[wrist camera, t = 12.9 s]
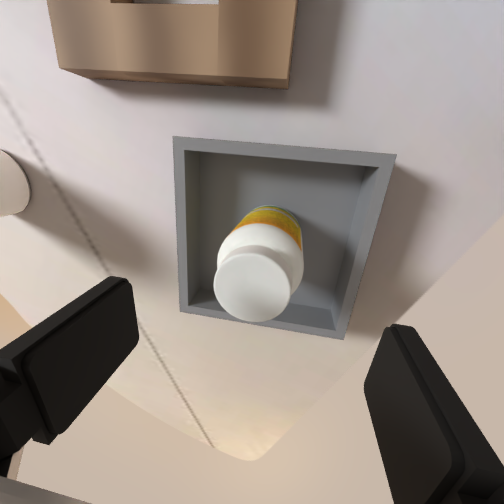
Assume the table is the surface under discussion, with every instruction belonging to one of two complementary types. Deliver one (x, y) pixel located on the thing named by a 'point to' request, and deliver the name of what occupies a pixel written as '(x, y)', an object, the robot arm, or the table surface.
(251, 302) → the supplement bottle
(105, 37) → the brown wooden square frame
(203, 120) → the table surface
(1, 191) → the can
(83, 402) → the robot arm
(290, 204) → the tray
